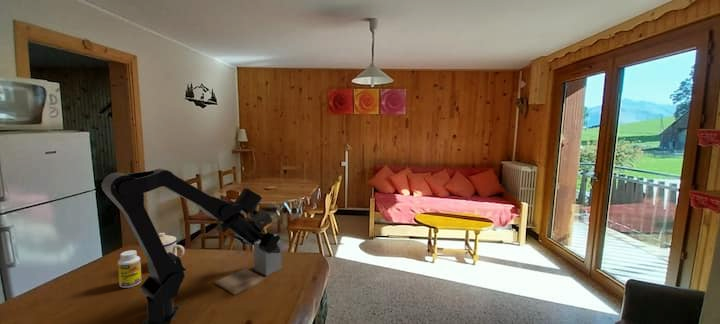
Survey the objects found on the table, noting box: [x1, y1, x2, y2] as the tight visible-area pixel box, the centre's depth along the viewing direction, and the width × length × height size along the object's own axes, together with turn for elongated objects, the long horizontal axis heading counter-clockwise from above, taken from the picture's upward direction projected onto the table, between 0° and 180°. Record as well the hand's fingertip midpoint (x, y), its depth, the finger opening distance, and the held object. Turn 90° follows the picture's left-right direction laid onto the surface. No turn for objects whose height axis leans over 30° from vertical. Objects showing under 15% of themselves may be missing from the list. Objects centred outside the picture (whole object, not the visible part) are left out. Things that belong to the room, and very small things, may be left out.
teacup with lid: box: [157, 232, 185, 259], centre depth 107 cm, size 12×9×12 cm
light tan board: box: [214, 268, 267, 296], centre depth 97 cm, size 11×11×1 cm
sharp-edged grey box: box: [253, 240, 283, 277], centre depth 105 cm, size 6×6×10 cm
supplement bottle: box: [117, 249, 142, 289], centre depth 94 cm, size 6×6×10 cm
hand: (270, 248), depth 106 cm, fingers open, 9 cm apart
